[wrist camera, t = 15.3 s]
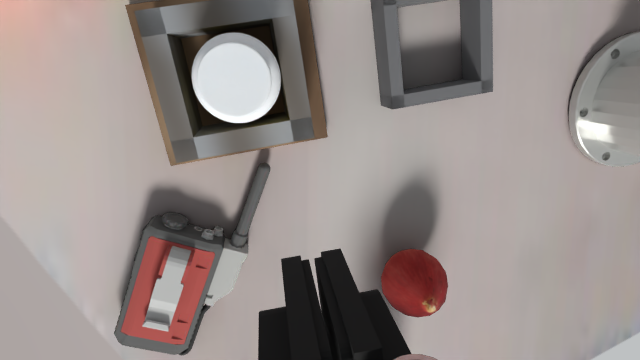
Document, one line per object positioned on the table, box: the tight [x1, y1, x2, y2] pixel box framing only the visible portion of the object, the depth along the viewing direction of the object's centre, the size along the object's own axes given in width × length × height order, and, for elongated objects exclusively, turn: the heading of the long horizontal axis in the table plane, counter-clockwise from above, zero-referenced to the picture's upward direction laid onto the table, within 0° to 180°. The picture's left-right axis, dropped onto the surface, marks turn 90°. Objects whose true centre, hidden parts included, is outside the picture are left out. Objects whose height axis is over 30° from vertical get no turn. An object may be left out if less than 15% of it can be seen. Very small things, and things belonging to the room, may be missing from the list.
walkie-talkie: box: [114, 163, 270, 355], centre depth 33 cm, size 9×4×20 cm
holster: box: [371, 0, 493, 109], centre depth 31 cm, size 9×9×3 cm
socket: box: [125, 0, 328, 166], centre depth 28 cm, size 13×12×6 cm
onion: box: [381, 249, 448, 317], centre depth 35 cm, size 6×6×8 cm
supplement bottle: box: [192, 33, 281, 123], centre depth 25 cm, size 5×5×10 cm
